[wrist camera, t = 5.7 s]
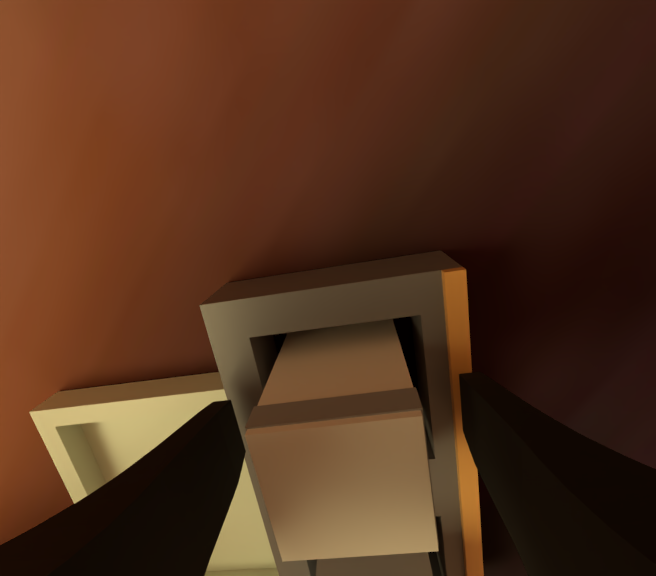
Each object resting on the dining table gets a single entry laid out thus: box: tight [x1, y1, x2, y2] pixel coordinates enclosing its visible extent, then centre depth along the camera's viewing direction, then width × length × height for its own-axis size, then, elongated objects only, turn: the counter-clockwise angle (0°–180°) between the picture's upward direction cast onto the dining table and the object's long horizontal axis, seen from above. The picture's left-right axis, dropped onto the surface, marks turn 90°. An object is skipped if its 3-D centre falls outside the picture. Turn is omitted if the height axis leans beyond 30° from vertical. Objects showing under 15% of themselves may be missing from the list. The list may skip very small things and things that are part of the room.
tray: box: [29, 372, 279, 576], centre depth 16 cm, size 12×10×1 cm
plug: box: [245, 319, 439, 562], centre depth 11 cm, size 4×4×6 cm
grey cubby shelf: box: [200, 250, 484, 576], centre depth 14 cm, size 16×8×3 cm, turn 10°
